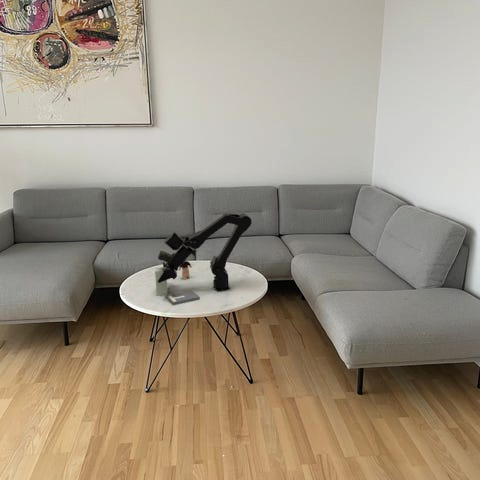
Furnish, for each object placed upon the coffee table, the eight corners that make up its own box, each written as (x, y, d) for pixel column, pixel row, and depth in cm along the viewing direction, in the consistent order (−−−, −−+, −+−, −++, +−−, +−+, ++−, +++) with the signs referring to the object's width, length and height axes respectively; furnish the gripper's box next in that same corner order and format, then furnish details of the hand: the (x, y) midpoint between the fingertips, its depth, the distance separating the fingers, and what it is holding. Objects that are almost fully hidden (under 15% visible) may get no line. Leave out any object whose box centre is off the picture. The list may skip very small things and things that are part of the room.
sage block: (167, 290, 214) (165, 267, 211) (167, 294, 209) (165, 270, 206) (156, 291, 213) (155, 267, 210) (156, 295, 209) (155, 271, 205)
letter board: (191, 292, 212) (191, 289, 212) (199, 299, 203) (199, 296, 203) (165, 297, 206) (165, 294, 206) (172, 305, 198) (172, 302, 197)
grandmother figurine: (188, 275, 234) (186, 252, 231) (193, 277, 232) (192, 253, 228) (177, 279, 228) (175, 256, 225) (182, 281, 226) (181, 257, 223)
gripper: (167, 240, 215) (145, 263, 216) (168, 251, 197) (144, 276, 198) (184, 254, 218) (162, 277, 219) (186, 266, 200) (163, 291, 201)
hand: (158, 280), depth 209 cm, fingers closed on sage block, 5 cm apart
